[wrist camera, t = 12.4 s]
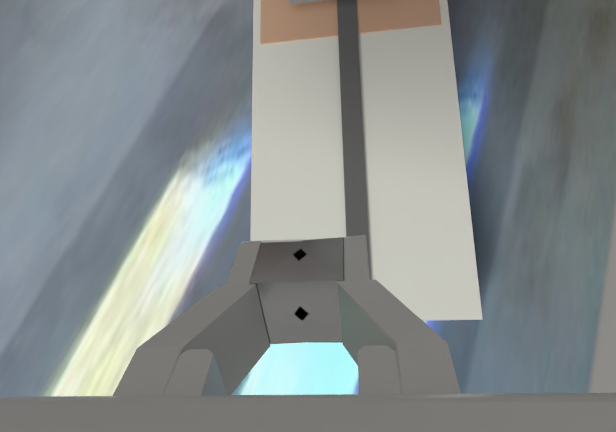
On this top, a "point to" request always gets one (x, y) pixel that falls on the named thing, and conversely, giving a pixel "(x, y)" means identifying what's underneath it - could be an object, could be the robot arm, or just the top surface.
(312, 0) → the fader knob
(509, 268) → the top surface
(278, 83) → the fader console
